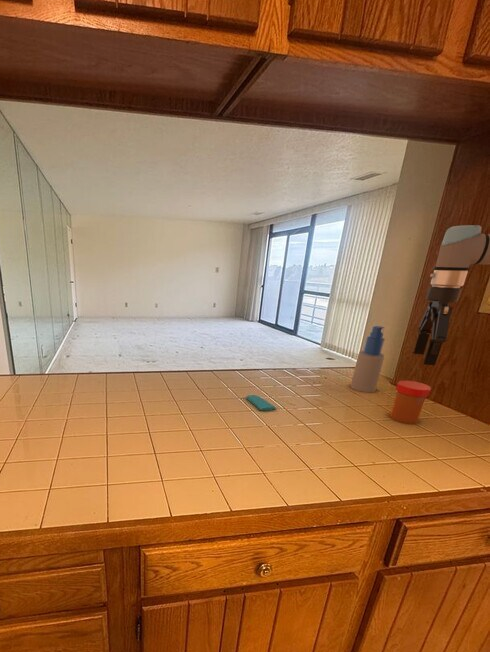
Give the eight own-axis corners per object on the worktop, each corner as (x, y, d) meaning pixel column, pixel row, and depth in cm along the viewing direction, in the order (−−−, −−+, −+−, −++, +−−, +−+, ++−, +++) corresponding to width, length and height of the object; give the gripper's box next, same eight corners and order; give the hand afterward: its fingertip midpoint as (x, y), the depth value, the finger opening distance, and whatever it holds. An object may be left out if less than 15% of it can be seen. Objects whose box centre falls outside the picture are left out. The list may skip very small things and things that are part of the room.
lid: (415, 398, 105) (418, 391, 104) (389, 388, 113) (391, 382, 112) (435, 394, 108) (438, 388, 107) (408, 385, 116) (410, 379, 115)
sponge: (260, 394, 129) (246, 393, 127) (276, 407, 118) (261, 406, 117) (259, 398, 129) (245, 397, 128) (275, 411, 119) (260, 410, 117)
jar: (422, 421, 112) (433, 390, 108) (406, 425, 109) (417, 392, 105) (400, 412, 119) (409, 382, 114) (384, 415, 116) (393, 384, 112)
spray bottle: (380, 390, 138) (397, 327, 129) (364, 393, 135) (381, 329, 125) (360, 383, 146) (375, 323, 136) (345, 386, 143) (360, 325, 133)
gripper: (419, 283, 110) (401, 348, 118) (442, 289, 89) (418, 368, 97) (448, 284, 107) (427, 351, 116) (478, 290, 86) (450, 371, 94)
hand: (423, 359), depth 106 cm, fingers open, 13 cm apart
